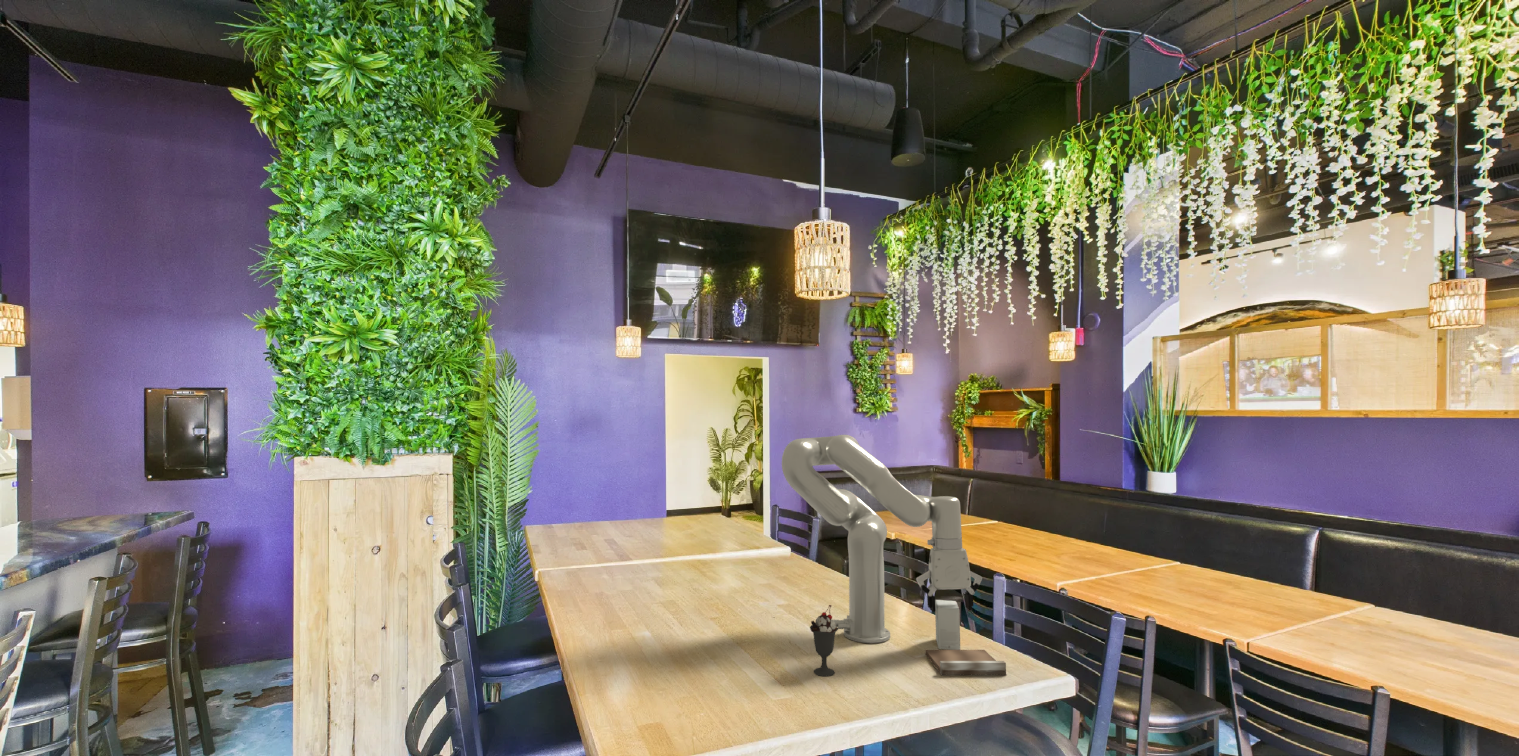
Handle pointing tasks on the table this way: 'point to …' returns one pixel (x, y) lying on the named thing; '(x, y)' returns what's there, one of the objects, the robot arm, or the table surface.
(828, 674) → the sundae
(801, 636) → the table surface
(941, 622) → the small box
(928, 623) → the table surface
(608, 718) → the table surface
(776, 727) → the table surface
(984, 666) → the shelf board
